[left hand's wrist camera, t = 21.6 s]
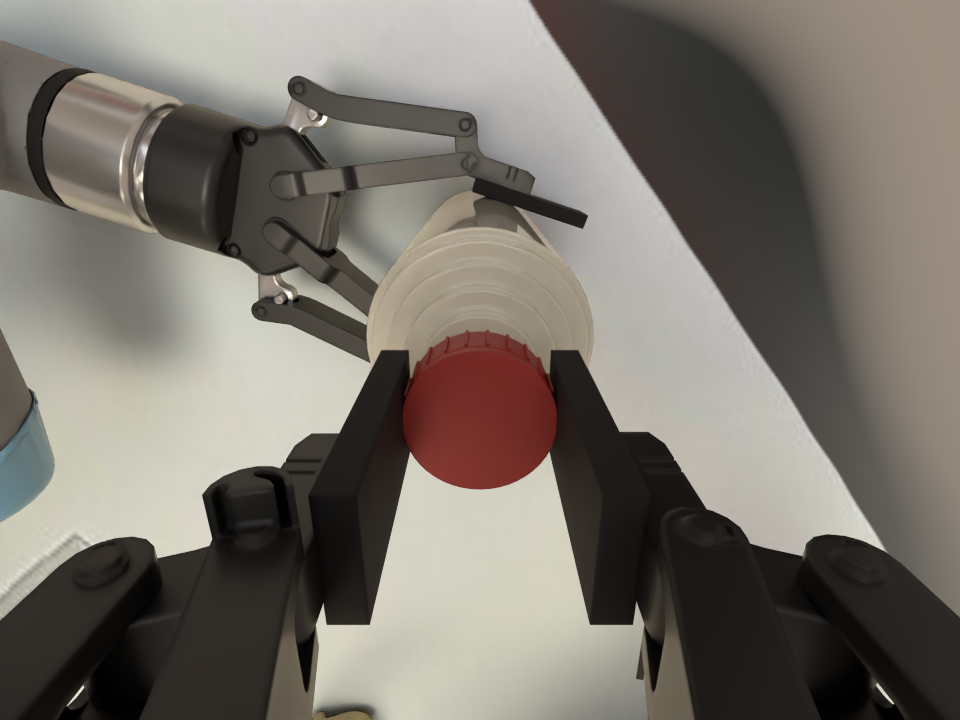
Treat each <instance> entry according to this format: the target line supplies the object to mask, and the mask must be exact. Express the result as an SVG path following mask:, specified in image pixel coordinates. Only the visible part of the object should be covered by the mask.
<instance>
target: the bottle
mask: <svg viewBox="0 0 960 720" xmlns="http://www.w3.org/2000/svg"><path fill="white" fill-rule="evenodd" d="M466 330H468V331H469V332H477V331H481V332H486V330H489V332H493V333H498V334H501V335H504V336H506V334H508V335H509V336H510V338H512V339H514V340H516V341H518V342H520V343H521V344H523V345H524V343H525V344H526V345H527V347H528V349H529V350H530V351H531V352H532V353H533V354H534V355H535V356H536V357H537V358H538V357H540V359H541V362H542V365H543V367H544V369H545V371H546V374H547V373H549V374H550V355H551V350H579V352H580V354H581V356H582V358H583V360H584V362H585V364H586V366H587V368H588V365H589V362H590V357H591V353H592V346H593V321H592V316H591V311H590V307H589V304H588V301H587V298H586V295H585V293H584V291H583V289H582V287H581V285H580V283H579V281H578V280H577V278H576V277H575V275H574V274H573V272H572V271H571V270H570V268H569V267H568V266H567V264H566V263H565V262H564V261H563V259H562V258H561V257H560V256H559V254H558V253H557V252H556V250H555V249H554V248H553V247H552V245H551V244H550V243H549V242H548V240H547V239H546V238H545V236H544V235H543V234H542V233H541V231H540V230H539V229H538V228H537V226H536V225H535V224H534V222H533V221H532V220H531V219H530V217H529V216H528V215H527V214H526V212H525V211H524V210H523V209H522V208H519V207H516V206H513V205H510V204H507V203H504V202H501V201H498V200H495V199H492V198H489V197H485V196H482V195H479V194H476V193H473V192H472V190H469V191H465V192H462V193H459V194H457V195H455V196H453V197H451V198H449V199H448V200H446V201H445V202H444V203H443V204H442V205H441V206H440V207H439V208H438V209H437V210H436V211H435V212H434V213H433V215H432V216H431V217H430V219H429V220H428V221H427V222H426V224H425V225H424V226H423V227H422V229H421V230H420V231H419V232H418V234H417V235H416V236H415V238H414V239H413V240H412V241H411V243H410V244H409V245H408V246H407V248H406V249H405V250H404V251H403V253H402V254H401V255H400V257H399V258H398V259H397V260H396V262H395V263H394V264H393V265H392V267H391V268H390V269H389V271H388V272H387V274H386V275H385V276H384V278H383V279H382V281H381V283H380V284H379V286H378V288H377V290H376V292H375V294H374V297H373V300H372V303H371V306H370V310H369V315H368V320H367V333H366V337H367V349H368V354H369V358H370V363H371V366H372V367H373V365H374V363H375V361H376V359H377V357H378V356H379V354H380V352H381V350H409V362H410V377H411V378H412V375H413V372H414V369H415V365H416V362H417V361H420V360H421V359H422V358H423V357H424V356H425V354H426V353H427V352H428V350H429V347H432V348H433V347H434V346H436V345H437V344H439V343H440V342H442V341H443V340H445V338H446V337H447V336H449V338H450V337H452V336H455V335H458V334H462V333H465V331H466Z"/></svg>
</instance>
